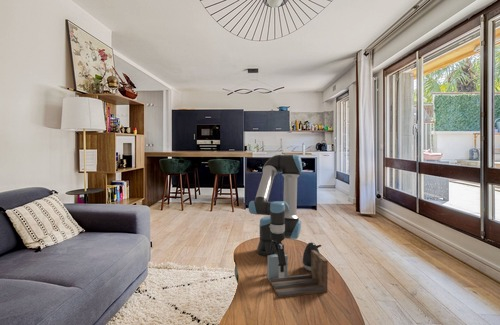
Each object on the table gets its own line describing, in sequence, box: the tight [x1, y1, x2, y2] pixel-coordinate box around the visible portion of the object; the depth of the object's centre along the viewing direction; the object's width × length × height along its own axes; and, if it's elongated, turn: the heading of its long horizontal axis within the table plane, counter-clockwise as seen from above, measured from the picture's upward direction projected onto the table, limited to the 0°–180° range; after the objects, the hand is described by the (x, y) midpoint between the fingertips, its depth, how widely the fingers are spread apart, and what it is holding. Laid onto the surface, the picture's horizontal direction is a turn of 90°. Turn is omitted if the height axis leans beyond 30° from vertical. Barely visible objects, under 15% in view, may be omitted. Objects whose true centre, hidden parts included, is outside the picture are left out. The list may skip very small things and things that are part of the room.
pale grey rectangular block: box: [266, 253, 288, 281], centre depth 139 cm, size 3×10×12 cm, turn 101°
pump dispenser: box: [301, 242, 322, 272], centre depth 149 cm, size 10×10×15 cm
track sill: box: [269, 250, 329, 298], centre depth 129 cm, size 14×24×15 cm, turn 101°
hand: (277, 271), depth 139 cm, fingers open, 13 cm apart
